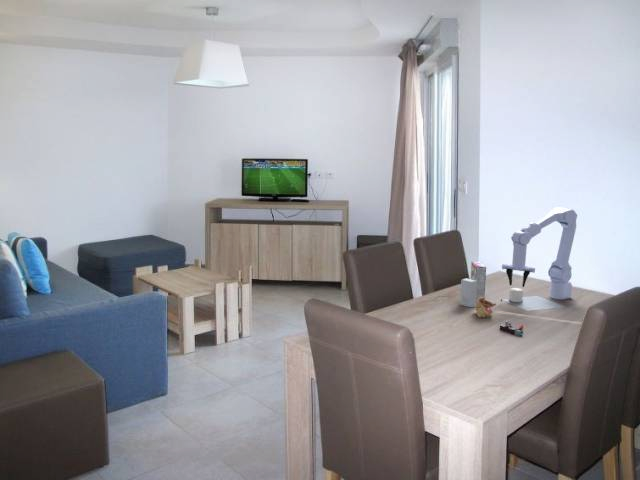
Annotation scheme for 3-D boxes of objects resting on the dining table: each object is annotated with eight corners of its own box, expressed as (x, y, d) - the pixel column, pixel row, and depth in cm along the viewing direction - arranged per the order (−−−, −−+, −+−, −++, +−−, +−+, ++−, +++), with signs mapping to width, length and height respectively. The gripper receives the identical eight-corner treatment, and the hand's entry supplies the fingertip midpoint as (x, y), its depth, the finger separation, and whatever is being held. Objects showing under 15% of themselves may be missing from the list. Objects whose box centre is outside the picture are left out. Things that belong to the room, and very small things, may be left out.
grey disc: (517, 298, 291) (517, 290, 291) (525, 302, 285) (526, 294, 285) (505, 299, 289) (506, 291, 288) (514, 303, 283) (515, 295, 282)
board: (537, 297, 297) (537, 295, 297) (565, 309, 279) (565, 306, 279) (500, 301, 290) (500, 299, 290) (526, 313, 272) (526, 310, 272)
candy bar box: (468, 293, 302) (470, 261, 299) (479, 294, 302) (481, 261, 299) (474, 300, 291) (476, 266, 288) (484, 300, 291) (486, 266, 288)
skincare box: (476, 306, 281) (478, 280, 279) (470, 307, 279) (472, 282, 276) (465, 303, 286) (467, 277, 284) (459, 304, 283) (460, 279, 281)
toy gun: (520, 338, 240) (521, 326, 240) (495, 330, 250) (496, 318, 249) (535, 334, 246) (536, 322, 245) (511, 325, 256) (512, 314, 255)
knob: (517, 297, 291) (517, 287, 290) (524, 301, 285) (525, 290, 284) (507, 298, 289) (507, 288, 288) (514, 302, 284) (515, 291, 283)
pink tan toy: (489, 322, 260) (474, 305, 261) (477, 326, 269) (462, 310, 270) (502, 308, 264) (486, 291, 264) (490, 312, 273) (475, 296, 273)
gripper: (501, 257, 283) (499, 285, 285) (534, 260, 277) (532, 289, 279) (504, 254, 289) (502, 282, 292) (536, 257, 283) (534, 286, 286)
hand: (517, 285), depth 286 cm, fingers open, 5 cm apart
